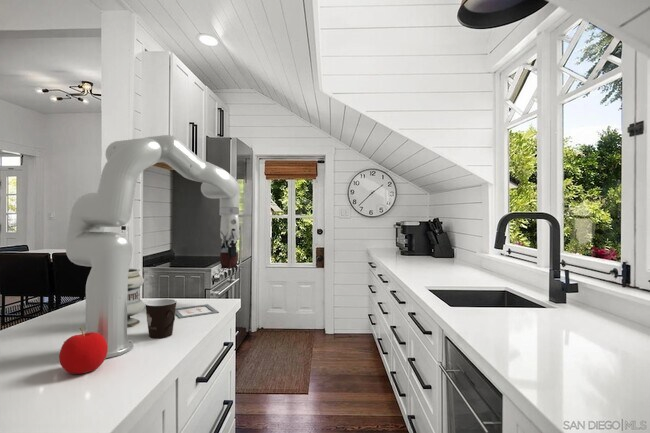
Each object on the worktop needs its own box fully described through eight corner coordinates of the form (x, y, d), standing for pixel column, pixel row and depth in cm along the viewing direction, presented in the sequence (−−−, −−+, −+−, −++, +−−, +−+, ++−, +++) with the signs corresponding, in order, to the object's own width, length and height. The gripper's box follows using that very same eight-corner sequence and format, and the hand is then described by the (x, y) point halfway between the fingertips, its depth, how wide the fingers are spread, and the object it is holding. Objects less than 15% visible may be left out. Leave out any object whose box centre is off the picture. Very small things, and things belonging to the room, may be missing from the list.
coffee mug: (145, 332, 108) (145, 300, 108) (175, 329, 112) (176, 298, 112) (143, 345, 98) (144, 309, 98) (177, 341, 101) (177, 306, 101)
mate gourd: (236, 266, 146) (237, 230, 146) (239, 269, 138) (239, 231, 138) (218, 267, 143) (219, 230, 143) (219, 269, 136) (220, 231, 136)
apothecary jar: (111, 332, 108) (112, 274, 108) (95, 324, 115) (96, 270, 115) (150, 323, 118) (151, 269, 118) (133, 316, 125) (134, 266, 125)
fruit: (99, 359, 88) (99, 319, 88) (113, 369, 82) (113, 326, 82) (54, 371, 81) (54, 328, 81) (65, 383, 75) (66, 336, 75)
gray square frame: (179, 318, 124) (179, 317, 124) (171, 309, 135) (171, 308, 135) (218, 312, 132) (218, 311, 132) (207, 304, 143) (207, 304, 143)
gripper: (246, 212, 136) (245, 257, 136) (230, 212, 150) (230, 253, 150) (227, 211, 132) (226, 258, 132) (213, 212, 146) (212, 254, 146)
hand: (228, 255), depth 141 cm, fingers closed on mate gourd, 7 cm apart
